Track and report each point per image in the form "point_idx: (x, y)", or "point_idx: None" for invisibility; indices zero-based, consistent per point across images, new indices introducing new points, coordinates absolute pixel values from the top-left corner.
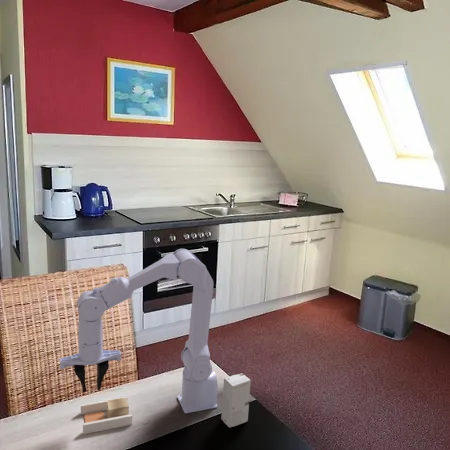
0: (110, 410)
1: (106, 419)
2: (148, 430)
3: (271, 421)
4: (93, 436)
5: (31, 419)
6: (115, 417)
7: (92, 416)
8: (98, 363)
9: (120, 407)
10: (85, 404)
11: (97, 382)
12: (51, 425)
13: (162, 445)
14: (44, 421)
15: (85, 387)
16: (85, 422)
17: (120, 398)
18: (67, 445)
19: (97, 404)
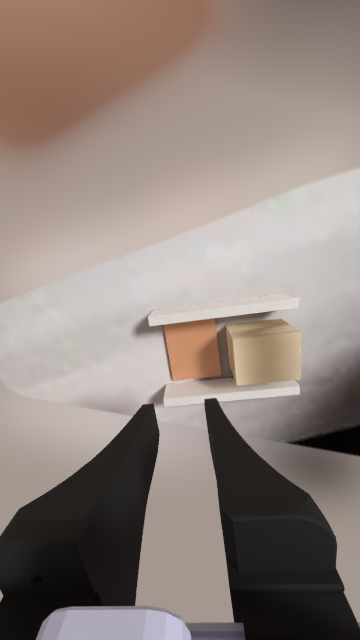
0: (241, 383)
1: (226, 395)
2: (324, 405)
3: None
4: None
5: (30, 316)
6: (251, 392)
7: (186, 335)
8: (239, 621)
9: (273, 380)
10: (162, 319)
11: (209, 437)
12: (87, 347)
13: (343, 453)
14: (65, 329)
15: (153, 463)
16: (169, 356)
17: (279, 335)
18: None
19: (199, 319)
